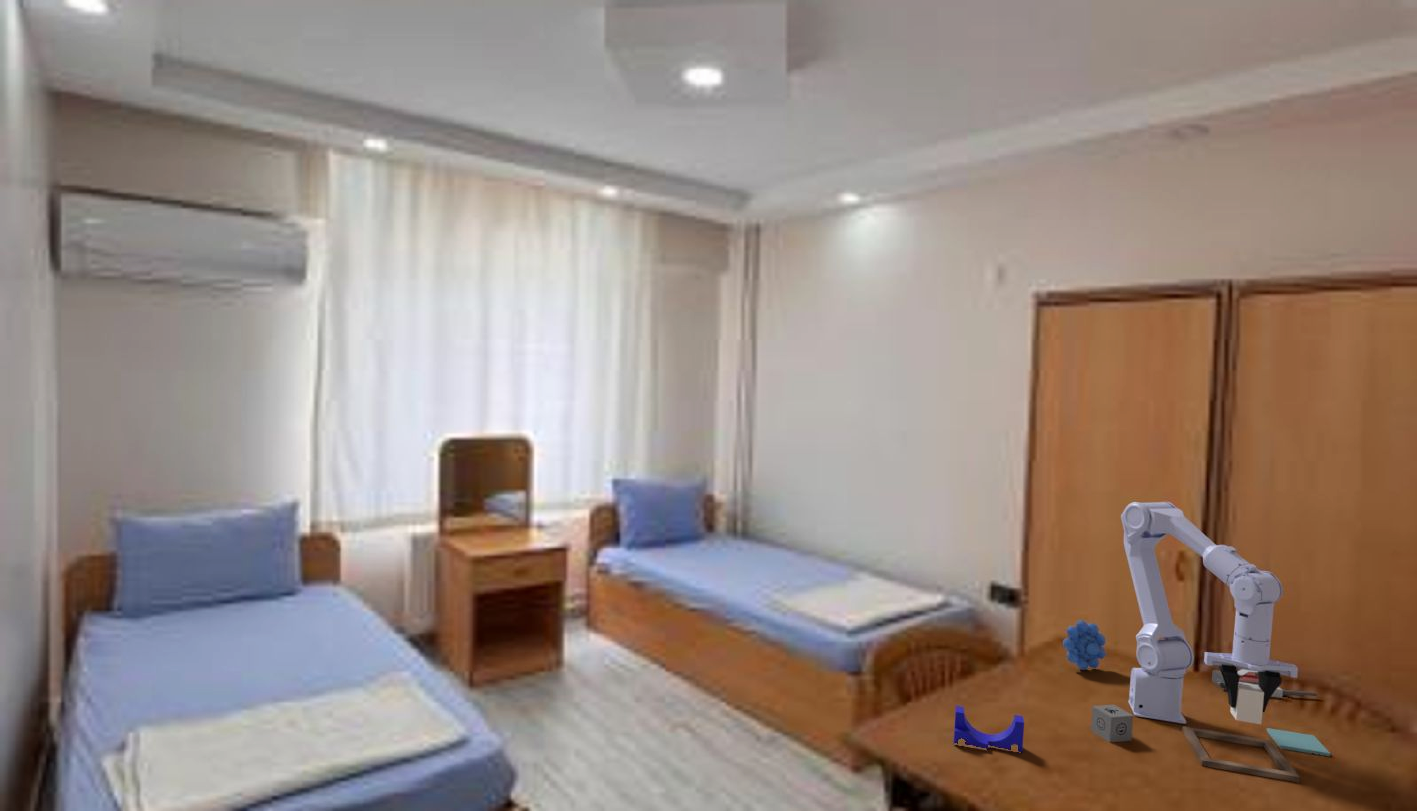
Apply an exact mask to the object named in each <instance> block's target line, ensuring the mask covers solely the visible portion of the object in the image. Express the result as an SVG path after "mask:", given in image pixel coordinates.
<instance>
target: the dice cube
mask: <svg viewBox="0 0 1417 811" xmlns="http://www.w3.org/2000/svg"><path fill="white" fill-rule="evenodd" d="M1091 711H1092V712H1091V713H1092V714H1091V726H1090V731H1091V732H1092V733H1094V734H1095V735H1097V736H1099V737H1100V738H1102V739H1103V740H1105V741H1107V742H1108V743H1117V742H1127V741H1128V742H1129V741H1132V738H1133V736H1132V735H1133V724H1134V714H1131V713H1129V712H1128V711H1127V710H1125V709H1124V708H1123V709H1122V708H1121V707H1119V706H1117V705H1116V704H1104V705H1092V710H1091Z"/></svg>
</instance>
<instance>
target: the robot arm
mask: <svg viewBox="0 0 1417 811" xmlns="http://www.w3.org/2000/svg"><path fill="white" fill-rule="evenodd" d="M1120 520H1121V523H1122V528H1123V531H1124V532H1123V545H1124V546H1123V547H1124V550H1125V554H1126V559H1127V562H1128V566H1129V571H1130V576H1131V580H1132V582H1133V583H1132V584H1133V586H1134V591H1135V596H1136V599H1137V604H1138V609H1139V612H1140V616H1141V620H1142V621H1141V622H1142V624H1143V626H1142V628H1141V629H1140V630H1139V632H1137V634H1136V635H1135V639H1136V651H1135V652H1136V659H1137V661H1138V664H1139V665H1140V666H1141V667H1132V669H1131V672H1130V683H1129V694H1128V696H1129V697H1128V701H1127V702H1128V704H1129V706H1130V708H1131V712H1133V716H1135V717H1140V718H1146V719H1147V718H1148V719H1153V720H1158V721H1165V722H1170V723H1177V724H1184V725H1186V724H1187V720H1186V718H1185V717H1184V715H1183V714H1182V701H1183V700H1182V699H1183V687H1184V675H1187V670H1188V669H1189V668H1191V666H1193V664H1194V660H1195V656H1194V651H1193V649H1192V647H1191V645H1190V644H1189V642H1188V641H1187V638H1186V636H1185V632H1184V631H1183V630H1182V629H1180V627H1178V626H1177V625H1175V624H1174V623H1173V622H1174V621H1173V619H1172V614H1171V611H1170V610H1171V609H1170V607H1169V604H1168V599H1167V594H1166V592H1165V586H1164V584H1163V579H1162V575H1161V572H1160V567H1159V563H1158V559H1157V555H1156V553H1155V547H1156V546H1157V545H1158V544H1159V542H1160V541H1161V540H1162V539H1164V538H1165V537H1166V536H1167V535H1171V536H1173V537H1174V538H1176V540H1178V541H1180V542H1181V543H1182V544H1184V545H1185V546H1187V547H1188V548H1189V549H1190V550H1192V551H1193V552H1195V553H1196V554H1198V555H1199V556H1200V557H1202V564H1203V566H1204V567H1205V568H1206V569H1207V570H1208V571H1210V573H1212V574H1213V575H1215V577H1217V578H1218V579H1219V580H1220V581H1221V582H1223V583H1224V584H1225V585H1227V587H1229V591H1230V594H1231V597H1232V598H1233V601H1234V608H1235V616H1234V617H1235V619H1234V627H1233V628H1234V629H1233V642H1232V653H1225V652H1224V653H1223V652H1220V653H1219V652H1210V651H1209V652H1207V651H1204V658H1203V663H1205V665H1206V666H1218V669H1219V671H1221V674H1222V676H1223V679H1224V682H1225V685H1226V689H1227V691H1226V693H1227V698H1228V704H1229V706H1230V708H1231V707H1233V708H1236V703H1237V688H1238V683H1239V679H1240V676H1239V675H1238V671H1239V670H1241V669H1245V670H1252V671H1258V675H1259V687H1260V688H1261V690H1262V691H1263V692H1264V699H1263V711H1262V713H1266V708H1267V706H1268V704H1269V702H1270V700H1271V698H1272V697H1271V696H1272V694H1273V693H1274V691H1275V690H1276V689H1277V688H1278V687H1279V688H1280V686H1281V684H1282V683H1283V678H1282V677H1281V676H1288V677H1289V678H1294V679H1298V672H1299V668H1298V667H1297V665H1295V664H1294V663H1288V662H1282V661H1277V660H1273V659H1270V652H1271V642H1272V633H1273V632H1272V631H1273V630H1272V629H1273V618H1274V607H1275V606H1274V605H1275V603H1276V602H1278V601H1279V600H1281V597H1282V595H1283V585H1282V583H1281V581H1280V580H1279V579H1278V577H1276V575H1275V574H1274V573H1273V572H1271V571H1267V570H1259V569H1258V568H1257V566H1256V565H1255V564H1254V563H1249V562H1248V560H1246V558H1245V559H1244V557H1242V556H1240V555H1239V554H1238V552H1237V549H1236V548H1234V547H1233V546H1230V545H1229V546H1228V545H1225V544H1219V545H1218V544H1215V543H1214V541H1212V540H1211V539H1210V538H1209V537H1207V536H1206V535H1205V534H1204V533H1203V532H1202V531H1201V530H1200V529H1199V528H1198V527H1197V526H1196V525H1195V524H1193V523H1192V522H1191V521H1190V520H1189V519H1187V517H1185V515H1184V511H1183V510H1182V509H1180V508H1178V507H1176V505H1174V504H1173V503H1172V502H1170V501H1160V502H1159V501H1158V502H1157V501H1156V502H1138V501H1134V502H1131V503H1129V504H1128V505H1126V506H1125V509H1124V510H1123V512H1122V513H1121V515H1120ZM1161 638H1162V639H1161ZM1159 639H1160V640H1159ZM1237 669H1239V670H1237Z"/></svg>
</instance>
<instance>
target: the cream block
mask: <svg viewBox="0 0 1417 811" xmlns="http://www.w3.org/2000/svg"><path fill="white" fill-rule="evenodd" d="M1263 699H1264V692H1263V691H1262V690H1261V688H1260V687H1259V686H1258V685H1256V684H1249V683H1243V682H1239V683H1238V688H1237V703H1236V708H1233V707H1231V706H1230V711H1229V713H1231V715H1232V717H1233V718H1234V719H1235V721H1238V722H1244V723H1250V724H1257V725H1262V722H1263V712H1262V711H1263Z"/></svg>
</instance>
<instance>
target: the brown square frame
mask: <svg viewBox="0 0 1417 811" xmlns="http://www.w3.org/2000/svg"><path fill="white" fill-rule="evenodd" d="M1182 733H1183V735H1184V736H1185V737H1184V738H1186V741H1188V743H1189V746H1190V747H1191V749H1192V751H1193V753H1194V754H1195V756H1196V758H1197V759H1198V762H1199V763H1200V765H1201V766H1202V767H1208V768H1213V769H1218V770H1224V771H1230V772H1236V773H1243V774H1246V775H1247V774H1248V775H1253V776H1260V777H1265V778H1270V779H1276V780H1282V781H1286V782H1293V783H1298V784H1299V783H1300V780H1301V778H1300V776H1299V774H1298V773H1297V772H1296V770H1295V769H1294V768H1293V767H1292V766H1291V764H1290V763H1289V761H1288V760H1287V759H1286V758H1285V757H1284V755H1283V754H1282V753H1281V752H1280V750H1279V748H1277V746H1276V745H1275V744H1274V743H1273V741H1272V740H1270V739H1264V738H1263V739H1262V738H1257V737H1252V736H1251V737H1250V736H1246V735H1239V734H1232V733H1227V732H1220V731H1216V730H1215V731H1214V730H1208V729H1202V728H1196V727H1189V726H1182ZM1198 737H1199V738H1205V739H1211V740H1216V741H1223V742H1230V743H1234V744H1239V745H1246V746H1247V745H1248V746H1253V747H1258V748H1259V747H1260V748H1264V750H1265V751H1266V753H1267V754H1268V755H1269V756H1270V758H1271V759H1272V760H1273V761H1274V763H1275V764H1276V766H1277V767H1278V768H1279V769H1274V768H1268V767H1264V766H1259V765H1258V766H1257V765H1252V764H1245V763H1239V762H1234V761H1230V760H1229V761H1228V760H1223V759H1218V758H1217V759H1216V758H1212V757H1209V755H1208V753H1207V751H1206V750H1205V748H1204V746H1203V745H1202V743H1201V742H1200V739H1199V738H1198Z"/></svg>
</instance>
